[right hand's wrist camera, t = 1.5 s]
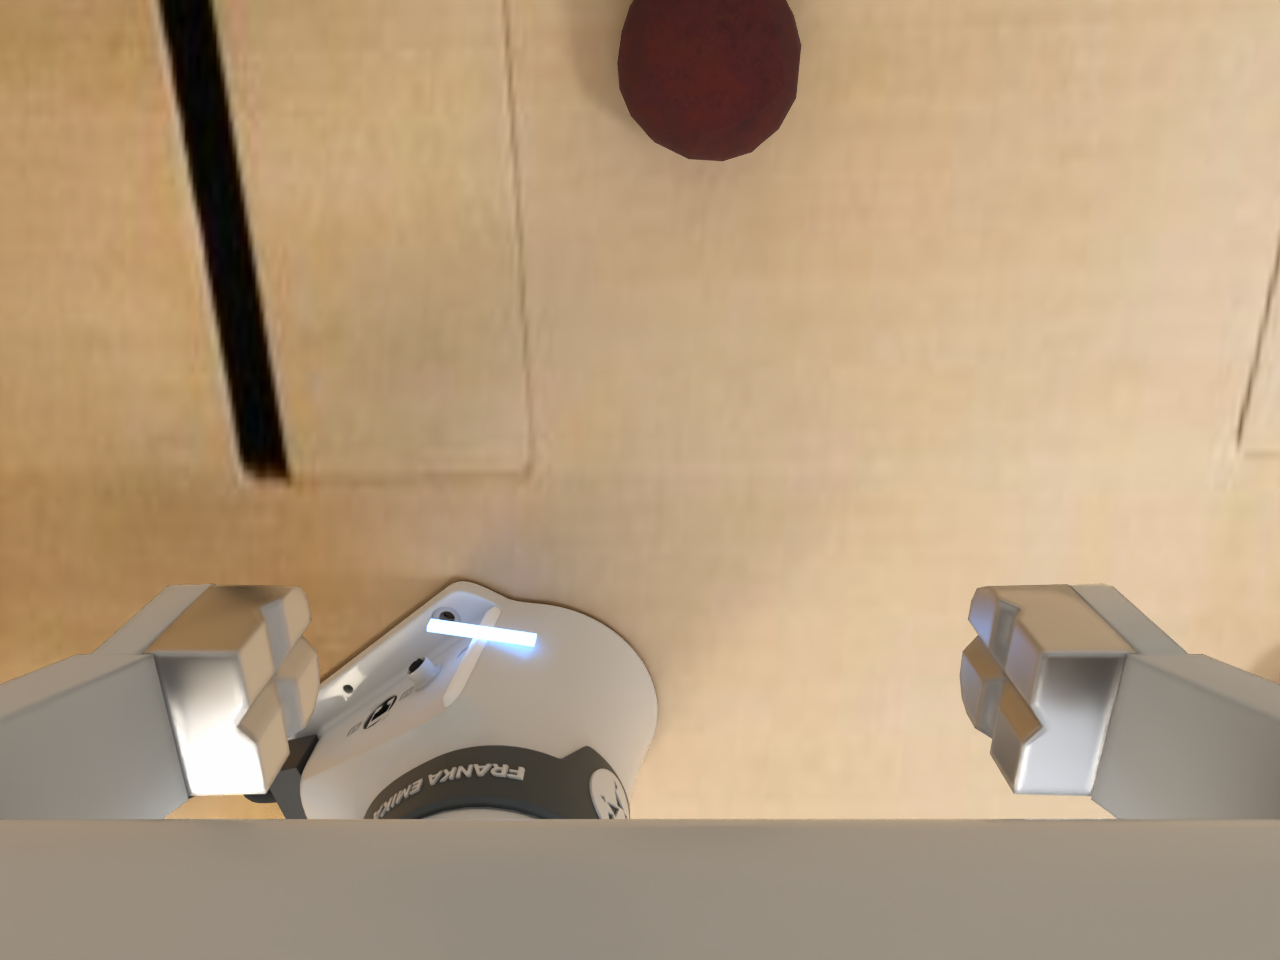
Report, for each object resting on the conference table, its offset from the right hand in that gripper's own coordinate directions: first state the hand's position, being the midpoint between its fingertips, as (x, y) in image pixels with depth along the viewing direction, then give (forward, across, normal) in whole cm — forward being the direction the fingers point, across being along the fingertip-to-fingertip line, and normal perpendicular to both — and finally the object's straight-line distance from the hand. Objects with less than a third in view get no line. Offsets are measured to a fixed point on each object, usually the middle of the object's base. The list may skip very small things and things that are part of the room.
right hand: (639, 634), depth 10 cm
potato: (+32, -3, -9) cm, 34 cm away
